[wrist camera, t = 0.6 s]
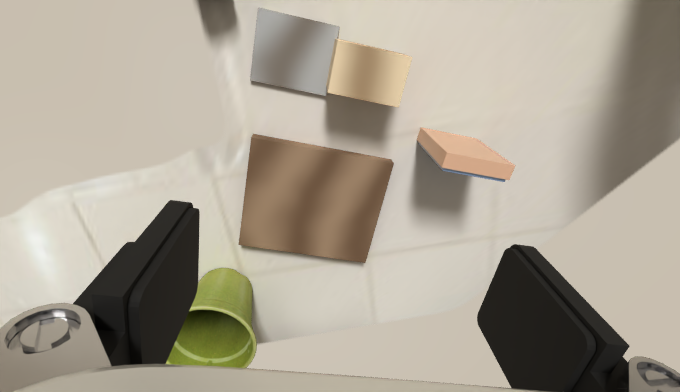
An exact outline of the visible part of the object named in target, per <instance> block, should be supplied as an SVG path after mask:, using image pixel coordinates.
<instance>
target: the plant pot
mask: <svg viewBox="0 0 680 392" xmlns="http://www.w3.org/2000/svg"><path fill="white" fill-rule="evenodd" d="M251 319H252V286H251V283H250V281H249V280H248V278H247V277H245V276H243V275H241V274H240V273H238V272H237V271H235V270H233V269H229V268H219V269H215V270H212V271H210V272H208V273H207V274H206V275H204V276H203V278H202V279H201V280H200V281H199V283H198V288H197V293H196V297H195V299H194V301H193V304H192V306H191V308H190V310H189V313H188V315H187V317H186V319H185V321H184V324H183V326H182V328H181V330H180V333H179V335H178V337H177V339H176V342H175V344H174V346H173V348H172V351H171V353H170V355H169V357H168V360H167V362H166V364H174V365H200V366H221V367H235V368H246V367H247V366H248V365H249V364H250V363H251V362H252V360H253V358H254V356H255V353H256V347H257V342H256V337H255V334H254V332H253V328H252V325H251Z"/></svg>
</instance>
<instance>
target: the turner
mask: <svg viewBox="0 0 680 392" xmlns="http://www.w3.org/2000/svg"><path fill="white" fill-rule="evenodd" d="M338 32H339V26H335V25H331V24H326V23H322V22H318V21H314V20H309V19H305V18H301V17H296V16H292V15H288V14H284V13H279V12H275V11H271V10H267V9H262V8H258V13H257V22H256V31H255V40H254V50H253V59H252V68H251V77H250V80H251V81H256V82H261V83H265V84H270V85H275V86H280V87H285V88H290V89H295V90H299V91H304V92H309V93H314V94H319V95H324V96H326V95H327V91H328V93H331V94H336V95H341V96H346V97H351V98H355V99H360V100H365V101H370V102H375V103H380V104H384V105H389V106H394V107H399V104H400V100H401V97H402V93H403V90H404V86H405V82H406V79H407V75H408V71H409V68H410V64H411V60H412V57H410V56H407V55H404V54H401V53H397V52H392V51H388V50H384V49H379V48H375V47H371V46H366V45H362V44H358V43H353V42H349V41H345V40H340V39H337V38H338Z"/></svg>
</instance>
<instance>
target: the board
mask: <svg viewBox="0 0 680 392" xmlns="http://www.w3.org/2000/svg"><path fill="white" fill-rule="evenodd" d="M393 164H394V163H393V162H392V160H391V159H385V158H380V157H374V156H369V155H364V154H358V153H353V152H348V151H342V150H337V149H332V148H326V147H321V146H315V145H310V144H305V143H299V142H294V141H289V140H283V139H278V138H272V137H267V136H262V135H256V134H253V135H252V137H251V145H250V154H249V162H248V171H247V179H246V188H245V196H244V205H243V213H242V221H241V230H240V238H239V245H244V246H251V247H258V248H265V249H272V250H279V251H286V252H293V253H300V254H307V255H314V256H321V257H328V258H335V259H342V260H349V261H356V262H363V263H365V262H366V259H367V255H368V252H369V248H370V245H371V241H372V238H373V234H374V231H375V227H376V224H377V220H378V217H379V213H380V210H381V206H382V203H383V199H384V196H385V192H386V189H387V185H388V182H389V178H390V175H391V171H392V168H393Z"/></svg>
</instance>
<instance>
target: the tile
mask: <svg viewBox="0 0 680 392" xmlns="http://www.w3.org/2000/svg"><path fill="white" fill-rule="evenodd" d="M417 141H418V142H419V143H418V144H419V145H420V146H421V147H422V148H423V149H424V151H425V152H426V153H427V154H428V155H429V156H430V157H431V158H432V160H433V161H434V162H435V163H436V164H437V165H438V166H439V168H440V169H441V170H442V171H447V172H453V173H458V174H463V175H469V176H474V177H480V178H485V179H490V180H496V181H501V182H505V180H509V179H510V177H511V175H512V172H513V170H514V168H515V165H514V164H512V163H511V162H509V161H508V160H507V159H505V158H504V157H502V156H501V155H499V154H498V153H496V152H495V151H494V150H492V149H491V148H489V147H488V146H486V145H485V144H484V143H482V142H481V141H479V140H478V139H476V138H471V137H466V136H461V135H456V134H451V133H446V132H441V131H436V130H431V129H426V128H420V131H419V135H418V138H417Z"/></svg>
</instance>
